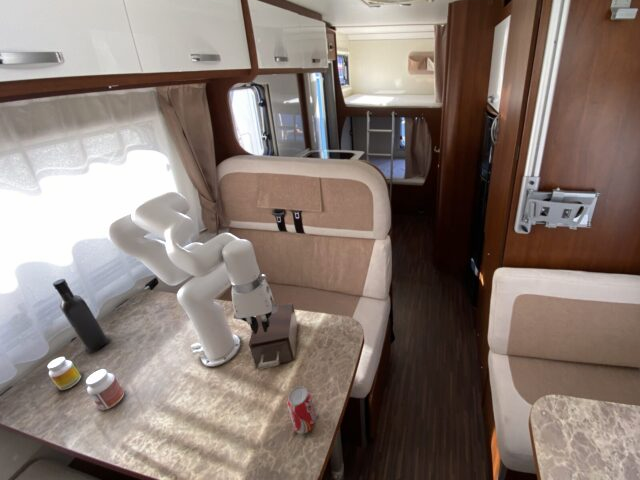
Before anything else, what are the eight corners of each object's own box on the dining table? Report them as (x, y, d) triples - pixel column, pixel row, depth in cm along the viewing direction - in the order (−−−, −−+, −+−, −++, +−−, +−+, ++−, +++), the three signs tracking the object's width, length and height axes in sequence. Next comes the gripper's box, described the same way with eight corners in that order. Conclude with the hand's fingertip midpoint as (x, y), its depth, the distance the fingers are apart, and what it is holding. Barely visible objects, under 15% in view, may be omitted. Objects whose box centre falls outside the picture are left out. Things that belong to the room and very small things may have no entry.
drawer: (290, 374, 97) (285, 355, 94) (253, 382, 95) (246, 363, 92) (295, 327, 115) (291, 309, 111) (264, 333, 113) (258, 315, 109)
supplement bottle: (84, 378, 101) (71, 358, 97) (63, 393, 96) (48, 372, 93) (76, 372, 103) (63, 352, 99) (56, 386, 99) (41, 366, 95)
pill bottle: (127, 386, 97) (112, 363, 93) (121, 404, 92) (106, 380, 88) (103, 395, 95) (87, 372, 90) (95, 414, 90) (78, 390, 85)
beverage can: (310, 437, 81) (303, 409, 76) (289, 432, 82) (281, 405, 78) (319, 412, 87) (313, 385, 82) (300, 409, 88) (292, 381, 83)
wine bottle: (90, 354, 110) (49, 289, 98) (85, 347, 112) (44, 284, 100) (109, 342, 114) (72, 279, 102) (104, 336, 117) (67, 274, 105)
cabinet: (294, 359, 103) (288, 337, 99) (255, 367, 101) (248, 344, 97) (297, 323, 117) (292, 303, 113) (263, 330, 115) (257, 309, 111)
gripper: (278, 268, 89) (289, 315, 96) (220, 277, 87) (236, 324, 94) (274, 285, 82) (287, 334, 90) (212, 295, 80) (230, 345, 87)
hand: (261, 329), depth 92 cm, fingers closed
